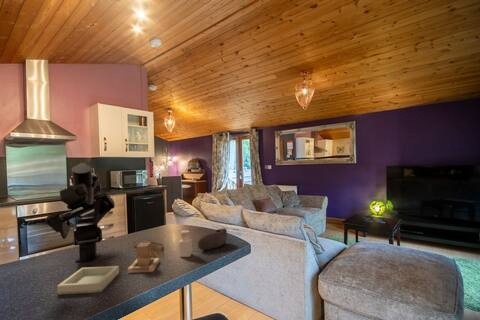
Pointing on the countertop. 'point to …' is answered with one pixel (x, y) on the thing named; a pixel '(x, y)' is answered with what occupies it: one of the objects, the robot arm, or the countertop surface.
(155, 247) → the wooden fragment
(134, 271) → the birch stand
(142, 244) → the wooden block
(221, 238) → the perforated stone tool
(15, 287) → the countertop surface
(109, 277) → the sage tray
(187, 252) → the pepper shaker
